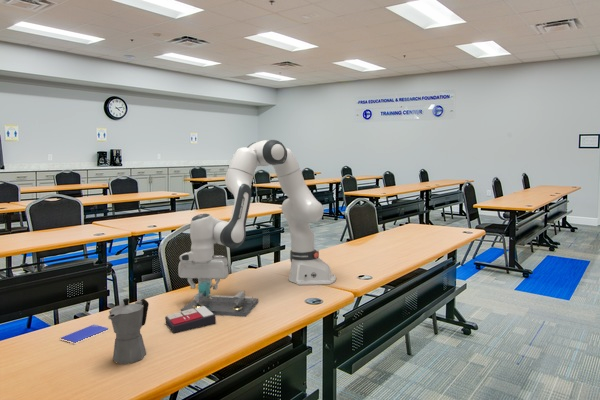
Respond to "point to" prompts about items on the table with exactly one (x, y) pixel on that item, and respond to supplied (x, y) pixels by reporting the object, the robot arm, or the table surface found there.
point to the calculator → (190, 319)
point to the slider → (202, 290)
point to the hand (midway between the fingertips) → (204, 288)
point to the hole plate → (226, 304)
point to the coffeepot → (129, 331)
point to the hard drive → (84, 333)
